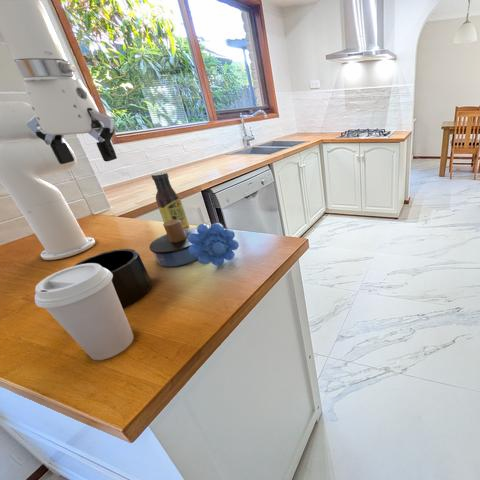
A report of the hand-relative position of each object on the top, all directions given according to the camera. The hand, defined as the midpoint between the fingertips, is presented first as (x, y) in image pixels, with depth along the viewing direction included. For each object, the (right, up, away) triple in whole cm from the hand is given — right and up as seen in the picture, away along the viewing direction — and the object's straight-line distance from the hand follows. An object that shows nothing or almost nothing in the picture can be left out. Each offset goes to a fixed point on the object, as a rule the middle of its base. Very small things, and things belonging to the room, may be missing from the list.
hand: (89, 161), depth 64 cm
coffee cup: (+15, -37, -12) cm, 41 cm away
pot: (+6, -30, +2) cm, 31 cm away
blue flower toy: (+25, -24, +10) cm, 36 cm away
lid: (+11, -18, +14) cm, 25 cm away
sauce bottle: (+4, -16, +29) cm, 33 cm away
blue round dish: (+12, -22, +16) cm, 30 cm away
